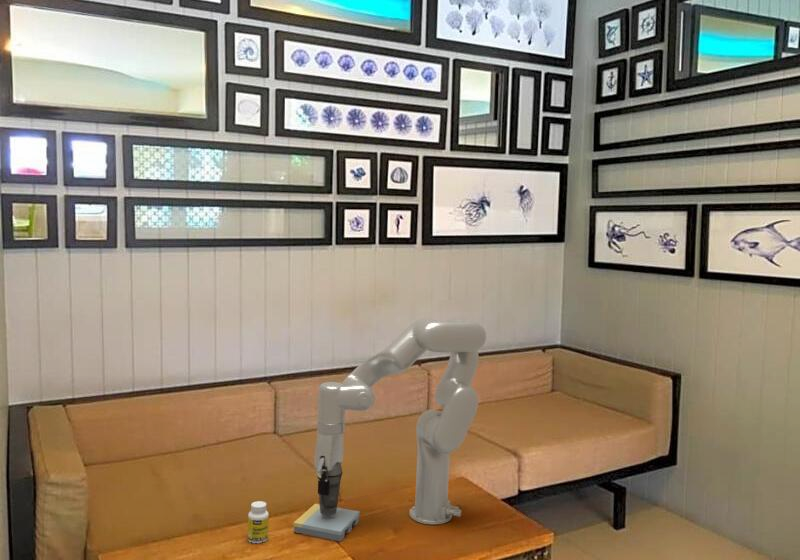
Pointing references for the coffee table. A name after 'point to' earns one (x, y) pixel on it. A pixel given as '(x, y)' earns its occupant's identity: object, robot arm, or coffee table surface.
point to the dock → (326, 523)
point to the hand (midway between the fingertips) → (329, 489)
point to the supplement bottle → (258, 523)
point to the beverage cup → (331, 491)
